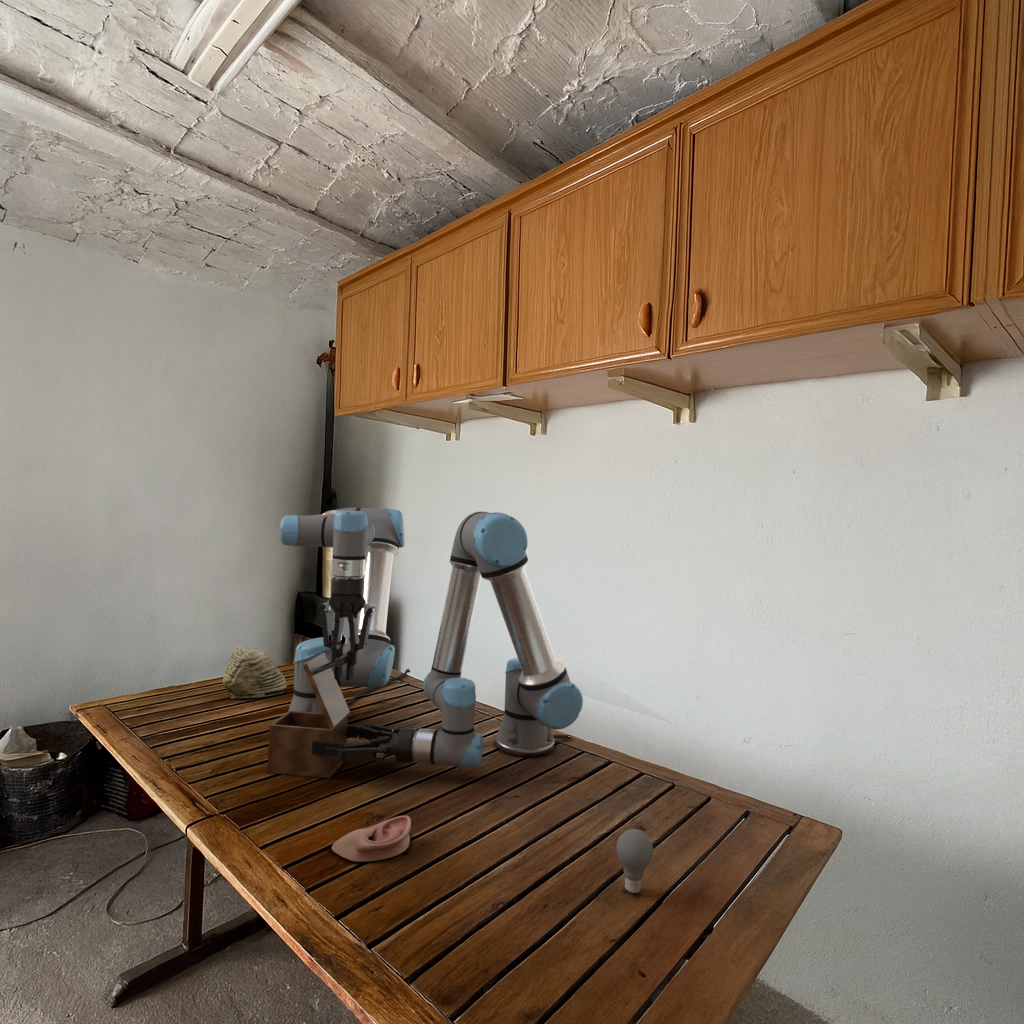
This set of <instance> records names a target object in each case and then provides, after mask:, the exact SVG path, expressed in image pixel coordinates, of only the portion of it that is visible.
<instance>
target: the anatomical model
mask: <svg viewBox="0 0 1024 1024" xmlns="http://www.w3.org/2000/svg"><path fill="white" fill-rule="evenodd" d="M411 828H412V820H411V817H410V816H409V815H406V814H405V815H399V816H395V817H392V818H389V819H386V820H383V821H380V822H378V823H377V824H374V825H372V826H369V827H365V828H364V827H363V828H359V829H355V830H352V831H351V832H348V833H346V834H345V835H343V836H342V837H340V838H338V840H336V841H335V842H334V843H333V844H332V845H331V850H332V852H334V853H335V854H337V855H338V856H340V857H341V858H343V859H345V860H348V861H351V862H354V863H356V862H357V863H361V862H364V863H365V862H374V861H380V860H381V861H382V860H385V859H386V860H387V859H389V858H393V857H395V856H398V855H400V854H403V852H405V851H406V850H407V849H408V848H409V845H410V842H411V837H410V832H411Z"/></svg>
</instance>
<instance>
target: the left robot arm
mask: <svg viewBox="0 0 1024 1024" xmlns="http://www.w3.org/2000/svg"><path fill="white" fill-rule="evenodd" d="M404 525H405V524H404V517H403V513H402V512H401V510H399V509H392V508H376V507H375V508H374V507H373V508H372V507H354V506H353V507H344V508H338V509H332V510H331V509H330V510H327V511H325V512H324V513H322V514H313V515H312V514H310V515H298V514H294V515H285V516H283V517H282V519H281V521H280V524H279V540H280V542H281V544H282V545H283V546H288V547H290V546H291V547H313V548H314V547H315V548H316V547H317V548H318V547H319V548H332V559H331V575H332V576H333V577H332V578H331V580H330V581H331V582H330V597H329V598H328V601H326V602H323V603H321V604H319V605H318V606H317V609H318V611H319V613H320V618H321V619H320V620H321V629H322V630H321V631H322V636H321V637H315V638H311V639H307V640H304V641H302V642H300V643H298V644H297V645H296V648H295V655H294V660H293V662H294V672H293V695H292V696H293V697H292V699H291V702H290V704H289V708H288V711H301V712H313V713H323V712H322V709H321V707H320V705H319V702H318V700H317V698H316V695H315V693H314V691H313V688H312V686H311V684H310V682H309V679H308V677H307V675H306V672H305V670H304V668H303V664H305V663H306V662H308V661H310V660H311V659H313V658H315V657H316V656H318V655H320V654H322V653H325V655H326V658H327V660H328V662H332V663H334V661H335V659H337V658H338V657H340V656H341V655H343V654H344V653H346V652H347V651H348V652H347V663H346V664H344V665H343V666H342V667H336V666H334V667H331V669H332V671H333V674H334V679H336V681H337V683H338V685H339V687H341V688H342V687H345V688H347V687H348V688H367V689H364V690H362V691H361V692H359V693H357V694H356V695H354V696H353V697H351V698H350V699H349V700H348V701H346V704H347V706H348V705H350V704H351V703H352V702H354V701H356V699H358V698H360V697H361V696H363V695H365V694H366V693H369V692H371V691H373V690H376V689H378V688H383V687H385V685H388V684H391V683H393V682H395V681H397V680H399V679H401V678H403V677H405V676H407V675H408V673H411V670H410V669H409V668H406V669H405V671H404V672H403V673H402V674H400V675H398V676H396V677H393V678H391V679H390V677H391V675H392V670H393V666H394V661H395V652H396V648H395V645H393V644H391V638H390V637H389V636H388V635H387V633H386V632H387V624H388V623H387V622H388V615H389V614H388V613H389V612H388V611H389V602H390V592H391V584H392V583H391V582H392V571H393V564H394V563H393V562H394V557H396V556H397V555H398V554H399V553H400V548H401V549H402V548H404V547H405V543H406V541H405V539H406V538H405V526H404ZM331 610H332V611H333V612H334V619H333V620H334V624H333V626H334V627H333V629H332V618H331V617H332V616H331ZM346 618H347V623H348V631H349V636H348V641H347V643H341V642H342V635H343V627H344V622H345V619H346ZM288 711H287V712H288Z"/></svg>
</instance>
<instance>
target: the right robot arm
mask: <svg viewBox="0 0 1024 1024" xmlns="http://www.w3.org/2000/svg"><path fill="white" fill-rule="evenodd" d="M528 542H529V539H528V534H527V530H526V529H525V527H524V526H523V524H522V523H521V522H520V521H519V520H518V519H517V518H515V517H514V516H512V515H509V514H507V513H503V512H489V511H475V512H473V513H469V514H468V515H467V516H466V517H464V518H463V519H462V521H461V522H460V523H459V525H458V527H457V529H456V532H455V536H454V539H453V542H452V548H451V553H450V558H449V563H450V565H451V566H452V568H451V574H450V578H449V583H448V587H447V593H446V596H445V597H446V598H445V601H444V607H443V611H442V617H441V622H440V626H439V631H438V636H437V641H436V645H435V650H434V655H433V659H432V664H431V668H430V672H428V673H427V675H425V677H424V679H423V683H422V688H423V692H424V694H425V696H426V697H427V699H428V700H429V701H430V702H432V703H433V704H434V705H435V706H436V708H437V709H438V710H439V711H440V712H441V724H440V728H441V729H430V728H419V729H416V728H415V727H401V728H400V727H391V726H385V725H381V724H375V723H371V722H364V723H363V724H360V725H353V724H351V725H350V724H347V738H350V739H357V738H358V740H361V739H365V740H368V741H363V742H356V743H347V745H343V743H342V742H340V743H336V742H323V741H313V742H312V754H319V755H331V756H339V761H341V762H342V761H345V762H361V761H362V762H365V761H366V762H367V761H378V762H385V760H386V759H385V758H386V756H390V755H394V758H395V760H396V762H398V763H405V764H412V763H413V762H414V763H415V764H420V765H424V766H426V767H427V766H428V767H429V765H432V766H445V767H454V768H459V769H464V768H465V769H469V768H470V769H471V768H477V767H479V766H480V765H481V762H482V758H483V752H484V751H483V750H484V737H483V736H484V735H482V733H478V732H476V731H475V713H476V701H477V694H476V683H475V681H473V680H472V679H470V678H469V679H468V678H466V677H462V672H463V671H462V670H463V665H464V662H465V661H464V660H465V656H466V651H467V647H468V643H469V637H470V632H471V628H472V623H473V620H474V619H473V618H474V613H475V609H476V605H477V600H478V595H479V590H480V586H481V581H482V579H483V580H486V581H488V582H490V585H491V587H492V590H493V593H494V596H495V599H496V601H497V605H498V607H499V610H500V613H501V615H502V616H501V617H502V619H503V621H504V624H505V626H506V630H507V632H508V635H509V638H510V640H511V643H512V647H513V649H514V652H515V654H516V657H514V658H510V659H509V660H508V661H507V663H506V668H505V686H504V687H505V688H504V711H503V712H504V713H503V716H502V717H503V718H502V720H501V723H500V725H499V728H498V731H497V733H496V738H495V739H496V740H495V745H496V747H497V748H498V750H500V751H502V752H504V753H506V754H509V755H512V756H518V757H526V758H527V757H530V758H531V757H540V756H545V755H547V754H549V753H551V752H552V751H554V749H555V739H559V740H560V739H561V740H572V738H573V737H572V735H571V734H554V733H553V730H556V731H557V730H558V731H559V730H564V729H566V728H568V727H570V726H571V725H572V724H574V723H575V721H577V719H578V718H579V716H580V713H581V712H582V709H583V706H584V705H583V704H584V698H583V694H582V691H581V690H580V688H579V687H578V686H577V685H576V684H575V683H573V682H572V681H571V678H570V677H569V673H568V670H567V668H566V665H565V662H564V661H562V660H560V659H557V657H556V656H555V652H554V649H553V646H552V644H551V640H550V637H549V636H548V635H549V634H548V632H547V629H546V627H545V624H544V621H543V618H542V615H541V612H540V608H539V606H538V604H537V600H536V598H535V594H534V592H533V589H532V586H531V584H530V581H529V577H528V575H527V571H526V567H527V566H528V563H529V558H528V555H527V548H528V545H529V544H528ZM568 736H571V737H568Z"/></svg>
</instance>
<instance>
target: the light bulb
mask: <svg viewBox="0 0 1024 1024" xmlns="http://www.w3.org/2000/svg"><path fill="white" fill-rule="evenodd" d="M615 849H616V854H617V857H618V859H619V861H620V863H621V865H622V867H623V873H624V874H623V875H624V876H625V878H624V888H625V890H627V891H628V892H630V893H634V894H635V893H639V892H640V891H641V889H642V887H641V886H642V879H643V877H644V875H645V871H646V868H647V867H648V866H649V864H650V863H651V861H652V859H653V855H654V847H653V843H652V841H651V838H649V836H648V835H647V834H646V833H645V832H643V831H642V830H641V829H636V828H629V829H627V830H625V831H623V832H622V833H621V834H620V835H619V837H618V839H617V841H616V847H615Z"/></svg>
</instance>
